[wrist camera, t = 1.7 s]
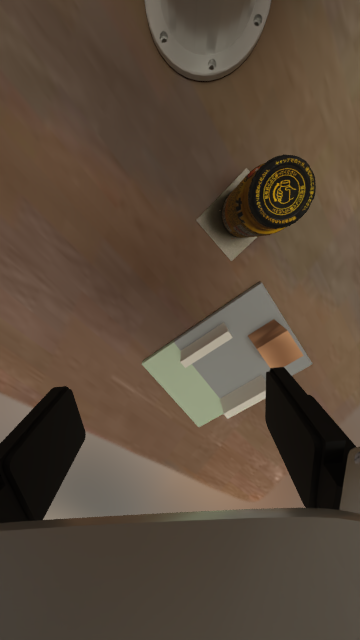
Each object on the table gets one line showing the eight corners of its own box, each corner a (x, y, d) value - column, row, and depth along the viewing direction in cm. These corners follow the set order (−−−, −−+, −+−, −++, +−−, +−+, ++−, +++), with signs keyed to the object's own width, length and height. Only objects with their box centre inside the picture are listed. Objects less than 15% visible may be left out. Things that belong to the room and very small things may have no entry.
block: (273, 319, 32) (287, 330, 28) (288, 341, 33) (303, 355, 29) (247, 335, 33) (256, 348, 28) (262, 357, 34) (273, 372, 30)
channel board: (259, 281, 31) (271, 287, 27) (309, 360, 35) (326, 376, 31) (142, 360, 36) (137, 376, 31) (198, 423, 40) (200, 444, 35)
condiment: (280, 214, 28) (345, 193, 17) (230, 261, 30) (258, 269, 19) (246, 168, 27) (291, 110, 15) (195, 220, 29) (203, 203, 17)
